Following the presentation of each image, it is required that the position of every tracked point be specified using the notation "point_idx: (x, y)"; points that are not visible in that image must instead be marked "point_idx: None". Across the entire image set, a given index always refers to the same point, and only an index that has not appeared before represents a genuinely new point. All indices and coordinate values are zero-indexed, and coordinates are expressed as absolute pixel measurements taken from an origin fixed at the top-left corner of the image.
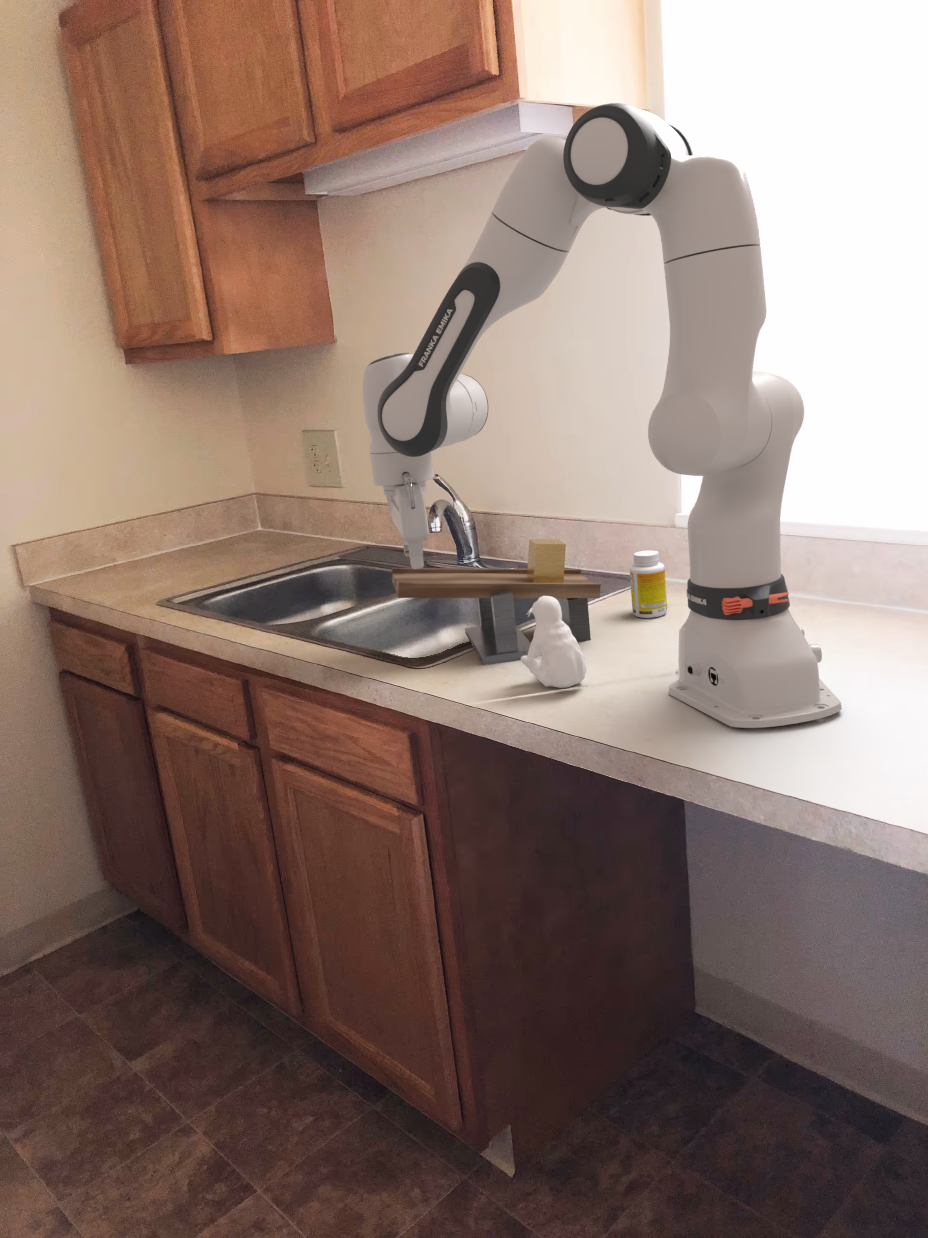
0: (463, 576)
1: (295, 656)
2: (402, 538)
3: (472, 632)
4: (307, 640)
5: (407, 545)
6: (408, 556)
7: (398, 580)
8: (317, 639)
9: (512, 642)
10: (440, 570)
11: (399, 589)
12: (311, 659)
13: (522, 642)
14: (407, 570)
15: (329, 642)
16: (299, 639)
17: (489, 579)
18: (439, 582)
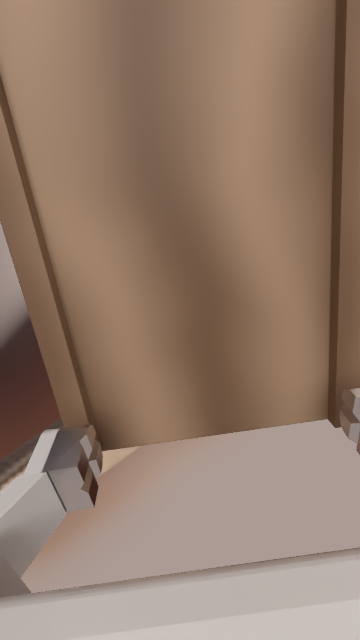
0: (108, 178)
1: (104, 470)
2: (34, 555)
3: None
4: (15, 469)
5: (71, 498)
6: (100, 450)
7: (231, 424)
8: (12, 457)
9: None
10: (54, 288)
11: None
12: (128, 449)
13: None
14: (86, 411)
15: (35, 439)
16: (7, 480)
17: (158, 30)
18: (341, 288)
